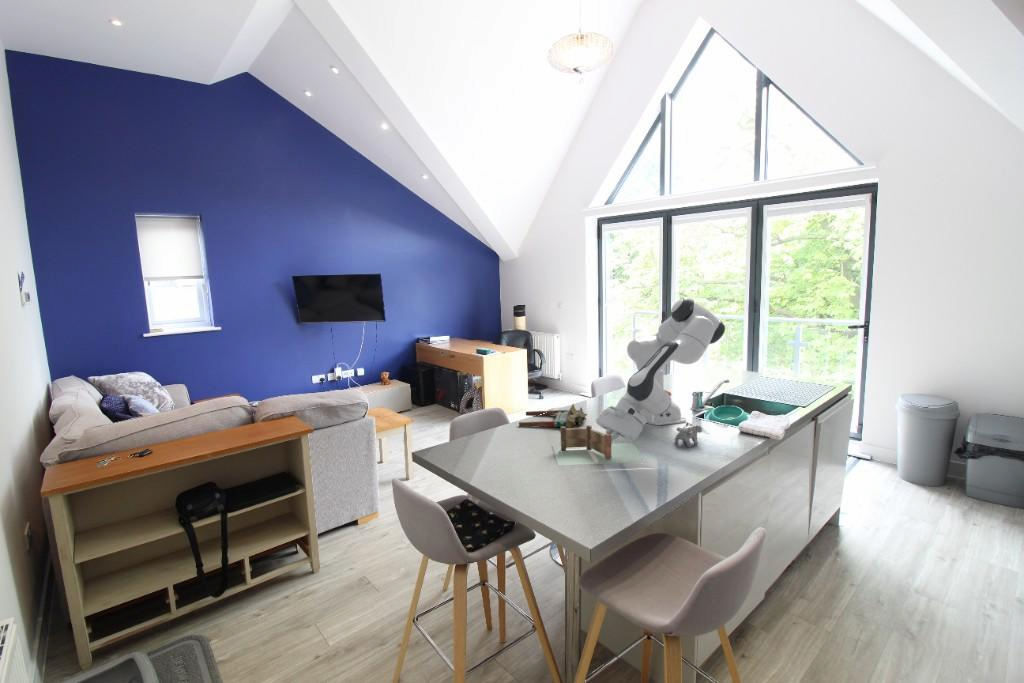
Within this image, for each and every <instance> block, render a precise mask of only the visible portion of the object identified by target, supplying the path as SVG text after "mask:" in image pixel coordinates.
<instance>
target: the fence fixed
mask: <svg viewBox="0 0 1024 683" xmlns="http://www.w3.org/2000/svg"><path fill="white" fill-rule="evenodd" d="M590 429H593V428H592V425H586V426H585V427H578V428H577V427H573V428H572V427H571V429H567V427H566V426H564V427H562V426H560V446H561V451H566V448H571V447H587V450H592V448H590Z"/></svg>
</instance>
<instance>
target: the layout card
mask: <svg viewBox="0 0 1024 683" xmlns="http://www.w3.org/2000/svg"><path fill="white" fill-rule="evenodd" d="M571 448H572V449H571ZM571 448H570V449H566V451H562V452H561V449H559V452H557V451H556V452H557V453H558V454H557V453H555V454H554V456H555V455H556V456H555V459H556V462H557V465H558V466H559V467H560V466H563V467H564V466H583V465H585V466H586V465H604V464H628V463H629V464H630V463H631V464H632V463H647V462H648V461H647V460H646V458H644V456H643V455H642V454H641V452H640V451H639V450H638V449H637V448H636V446H635V445H634V444H633V443H632V442H624V443H623V442H621V443H620V442H619V443H611V458H610V459H606V458H604V454H602V453H600V452H598V451H596V450H594V449H592V450H587V447H580V448H579V449H578V448H576V449H575V447H574V449H573V447H571Z"/></svg>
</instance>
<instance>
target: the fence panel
mask: <svg viewBox="0 0 1024 683" xmlns="http://www.w3.org/2000/svg"><path fill="white" fill-rule="evenodd" d="M611 444H612V443H611V434H606V433H602V432H600V431H598V430H596V429H593V428H592V429H590V448H592V449H594V450H596V451H598V452H600V453H602V454H604V458H606V459H610V458H611Z"/></svg>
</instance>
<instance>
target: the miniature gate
mask: <svg viewBox="0 0 1024 683" xmlns="http://www.w3.org/2000/svg"><path fill="white" fill-rule="evenodd" d="M546 412H547V413H546ZM543 413H545V414H543ZM540 414H542V416H541V417H549V416H548V415H555V418H554V419H553V420H545V421H544V420H540V421H519V422H518V426H519V427H520V428H525V427H524V426H539V427H538V428H547V426H548V428H549V427H552V428H553V427H554V428H556V427H566V429H571V428H572V427H573V426H574V425H575V426H576V422H577V424H578V426H579V427H580V426H582V425H583V422H584V421H586V420H587V417H586V416H588V414H587V413H585V412H584V410H583V408H582V406H581V407H580V408H579V409H576V408H575V404H574V403H573V404H572V405H571V406H570V408H569V410H568V409H556V410H553V409H552V410H533V411H532V410H531V411H529V410H528V411H525V415H526V416H527V417H530V416H531V417H539V416H538V415H540ZM543 415H545V416H543ZM526 416H525V417H526ZM541 426H542V427H541ZM543 426H544V427H543ZM545 426H546V427H545Z"/></svg>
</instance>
